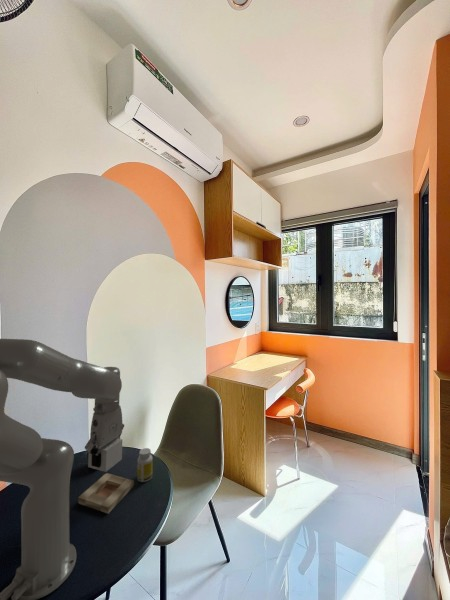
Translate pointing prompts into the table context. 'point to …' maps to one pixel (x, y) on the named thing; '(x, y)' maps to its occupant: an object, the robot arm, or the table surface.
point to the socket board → (106, 492)
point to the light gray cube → (108, 455)
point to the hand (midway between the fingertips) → (105, 458)
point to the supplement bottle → (144, 465)
